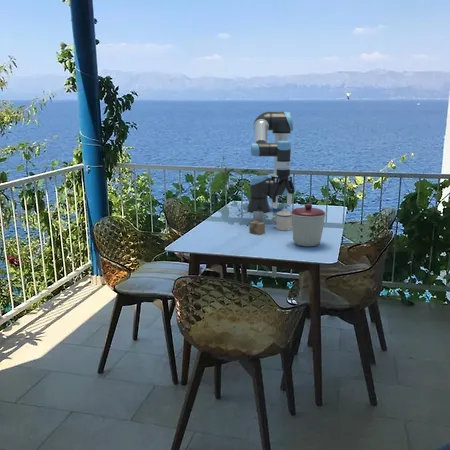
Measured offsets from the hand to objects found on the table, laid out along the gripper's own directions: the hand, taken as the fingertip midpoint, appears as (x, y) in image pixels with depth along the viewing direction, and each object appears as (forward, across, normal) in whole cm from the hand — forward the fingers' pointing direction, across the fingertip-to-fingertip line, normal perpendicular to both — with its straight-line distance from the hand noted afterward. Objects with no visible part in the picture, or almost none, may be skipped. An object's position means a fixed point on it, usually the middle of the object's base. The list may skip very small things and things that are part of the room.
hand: (282, 206), depth 267 cm
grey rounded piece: (+13, -3, +15) cm, 20 cm away
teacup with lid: (+13, 0, 0) cm, 13 cm away
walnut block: (+13, -17, +4) cm, 22 cm away
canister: (+14, -16, -28) cm, 35 cm away
